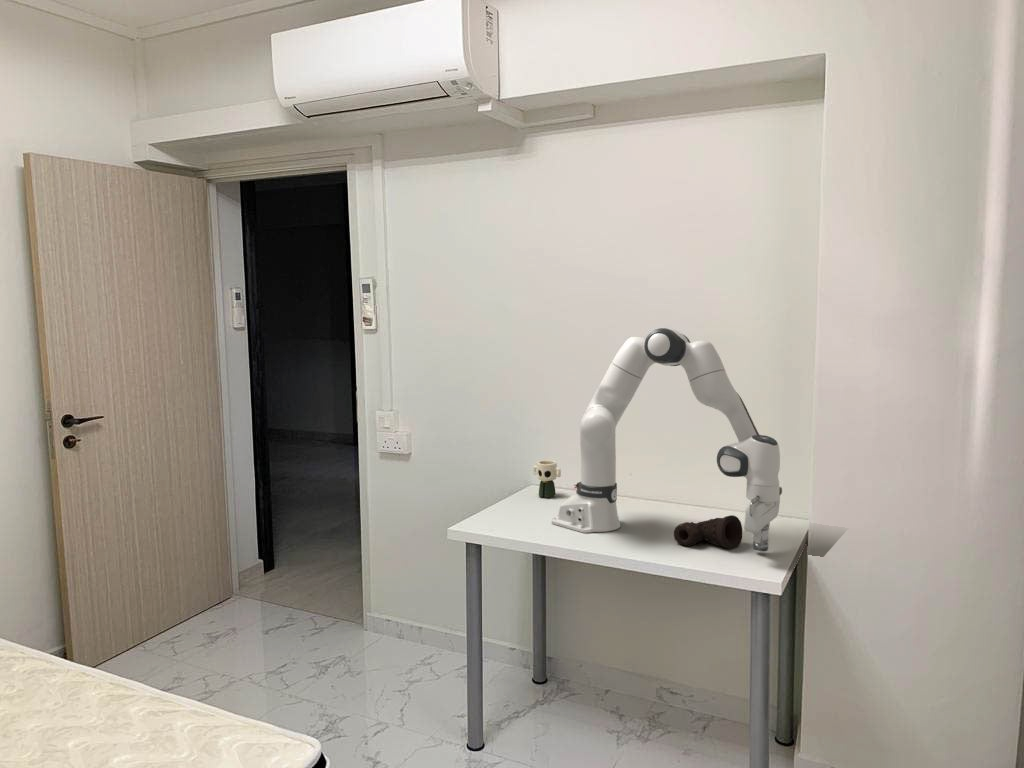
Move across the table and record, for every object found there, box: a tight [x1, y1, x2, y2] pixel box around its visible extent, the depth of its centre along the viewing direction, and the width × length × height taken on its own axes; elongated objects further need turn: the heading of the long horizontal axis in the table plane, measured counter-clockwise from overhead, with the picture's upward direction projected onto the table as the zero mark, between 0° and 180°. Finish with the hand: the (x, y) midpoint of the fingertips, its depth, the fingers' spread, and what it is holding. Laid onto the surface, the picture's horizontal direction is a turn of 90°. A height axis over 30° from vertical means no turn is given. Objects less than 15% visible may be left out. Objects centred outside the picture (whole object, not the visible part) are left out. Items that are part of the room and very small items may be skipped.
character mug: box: [533, 459, 562, 498], centre depth 286 cm, size 11×7×13 cm, turn 63°
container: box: [752, 525, 770, 552], centre depth 222 cm, size 4×4×7 cm
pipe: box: [673, 514, 743, 550], centre depth 232 cm, size 10×15×15 cm
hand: (760, 539), depth 222 cm, fingers closed on container, 4 cm apart
